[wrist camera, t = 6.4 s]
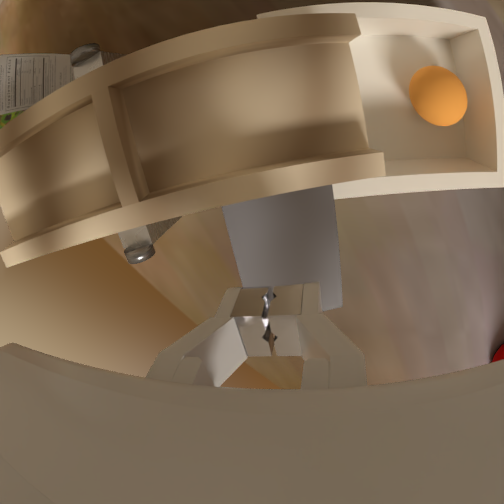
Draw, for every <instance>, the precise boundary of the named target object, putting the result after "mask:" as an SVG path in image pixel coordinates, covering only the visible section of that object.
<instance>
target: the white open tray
mask: <svg viewBox="0 0 504 504" xmlns="http://www.w3.org/2000/svg"><path fill="white" fill-rule="evenodd" d="M315 13H355V15H356V18H357V21H358V24H359V28H360V31H361V35H360V36H358V37H356V38H355V39H353V40H352V41H350V42H349V46H350V50H351V54H352V58H353V62H354V66H355V71H356V75H357V80H358V85H359V90H360V95H361V100H362V106H363V111H364V117H365V124H366V130H367V137H368V145H369V148H371V149H375V150H378V151H382V152H384V161H385V173H386V176H380V177H374V178H367V179H361V180H355V181H349V182H343V183H337V184H332V187H333V195H334V199H342V198H352V197H362V196H372V195H383V194H395V193H408V192H421V191H436V190H452V189H472V188H498V187H504V95H503V89H502V82H501V77H500V71H499V66H498V62H497V57H496V53H495V49H494V45H493V41H492V37H491V34H490V30H489V27H488V24H487V21H486V18H485V17H482V16H478V15H474V14H470V13H465V12H460V11H455V10H450V9H444V8H438V7H431V6H423V5H414V4H402V3H382V2H354V3H333V4H321V5H311V6H303V7H296V8H289V9H283V10H277V11H272V12H267V13H262V14H257V19H260V18H267V17H276V16H285V15H297V14H315ZM426 66H440V67H443V68H446V69H448V70H449V71H451V72H452V73H454V74H455V75H456V76H457V77H458V78H459V79H460V81H461V82H462V84H463V86H464V88H465V90H466V93H467V100H468V103H467V109H466V112H465V114H464V116H463V117H462V118H461V120H459V121H458V122H457V123H455V124H453V125H450V126H438V125H434V124H431V123H429V122H427V121H426V120H424V119H423V118H422V117H421V116H420V115H419V114H418V113H417V112H416V110H415V109H414V107H413V105H412V103H411V100H410V97H409V84H410V81H411V78H412V77H413V75H414V74H415V73H416V72H417V71H418V70H419V69H421V68H423V67H426Z"/></svg>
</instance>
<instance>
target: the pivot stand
mask: <svg viewBox="0 0 504 504" xmlns="http://www.w3.org/2000/svg"><path fill="white" fill-rule="evenodd" d="M123 56H126V55H124V54H117V53H110V52H102V51H100V46H99V44H95V43H93V44H87V45H83V46H81V47H79V48H77V49H75V50H74V51H72V52H71V54H70V59H71V65H72V67H75V68H74V69H73V70H74V76H75V79H77V78H79V77H81V76H83V75H85V74H87V73H89V72H91V71H93V70H95V69H97V68H99V67H101V66H103V65H105V64H107V63H109V62H112V61H114V60H116V59H118V58H121V57H123ZM181 217H182V216H179V217H175V218H171V219H167V220H163V221H159V222H155V223H152V224H148V225H144V226H140V227H137V228H133V229H129V230H126V231H122V232H118V234H119V237H120V240H121V242H122V245H123V247H124V248H126V249H125V250H124V253H125V255H126V258H127V260H128V263H130V264H137V263H140V262H143V261H145V260H147V259H149V258H151V257H152V256H153V255H154V254H155V249H154V246H153V244H154V243H155V242H156V241H157V240H158V239H159V238H160V237H161V236H162V235H163V234H164V233H165V232H166V231H167V230H168V229H169V228H170V227H171V226H172V225H173V224H175V223H176V222H177V221H178V220H179V219H180V218H181Z"/></svg>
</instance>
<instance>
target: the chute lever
mask: <svg viewBox="0 0 504 504" xmlns="http://www.w3.org/2000/svg"><path fill="white" fill-rule="evenodd" d="M360 35H361V31H360V28H359V24H358V21H357V18H356V15H355V13H315V14H297V15H285V16H276V17H267V18H260V19H253V20H247V21H241V22H236V23H231V24H226V25H221V26H217V27H212V28H208V29H204V30H200V31H196V32H193V33H189V34H185V35H182V36H179V37H175V38H172V39H169V40H166V41H163V42H160V43H157V44H154V45H151V46H149V47H146V48H143V49H141V50H138V51H135V52H133V53H130V54H128V55H126V56H123V57H121V58H118V59H116V60H114V61H112V62H109V63H107V64H105V65H103V66H101V67H99V68H97V69H95V70H93V71H91V72H89V73H87V74H85V75H83V76H81V77H79V78H77V79H75V80H74V81H72V82H70V83H68V84H66V85H65V86H63V87H61V88H60V89H58V90H56V91H54V92H53V93H51V94H50V95H48V96H46V97H45V98H43V99H42V100H40V101H39V102H37V103H36V104H34V105H33V106H31V107H30V108H28V109H27V110H25V111H24V112H23V113H21V114H20V115H18V116H17V117H16V118H14V119H13V120H12V121H10V122H9V123H8V124H6V125H5V126H4V127H3V128H1V129H0V205H1V208H2V211H3V214H4V217H5V220H6V222H7V225H8V228H9V230H10V233H11V236H12V238H13V241H14V242H13V243H11V244H10V245H9V246H8V247H6V248H5V249H4V250H2V251H1V252H0V254H1V256H2V259H3V261H4V263H5V265H6V267H10V266H13V265H16V264H19V263H22V262H25V261H27V260H30V259H33V258H36V257H39V256H42V255H46V254H48V253H52V252H55V251H58V250H61V249H64V248H67V247H71V246H74V245H77V244H81V243H84V242H87V241H91V240H94V239H97V238H101V237H104V236H108V235H111V234H115V233H118V232H122V231H126V230H129V229H133V228H137V227H140V226H144V225H148V224H152V223H155V222H159V221H163V220H167V219H171V218H175V217H179V216H183V215H187V214H191V213H196V212H200V211H204V210H208V209H213V208H217V207H221V206H222V210H223V214H224V218H225V222H226V225H227V229H228V233H229V237H230V241H231V244H232V248H233V252H234V256H235V259H236V263H237V267H238V270H239V274H240V278H241V281H242V285H243V287H262V286H270V287H271V288H272V292H273V289H274V287H275V286H284V285H295V284H304V283H312V282H319V283H320V291H321V302H322V311H326V310H331V309H335V308H339V307H343V305H342V284H341V268H340V254H339V242H338V231H337V221H336V212H335V203H334V195H333V187H332V184H337V183H343V182H349V181H355V180H361V179H367V178H374V177H380V176H386V173H385V161H384V152H382V151H378V150H375V149H371V148H369V145H368V137H367V130H366V124H365V117H364V111H363V106H362V100H361V95H360V90H359V85H358V80H357V75H356V71H355V66H354V62H353V58H352V54H351V50H350V46H349V42H350V41H352V40H353V39H355V38H356V37H358V36H360ZM273 299H274V297H273Z"/></svg>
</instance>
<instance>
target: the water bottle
mask: <svg viewBox="0 0 504 504" xmlns="http://www.w3.org/2000/svg"><path fill="white" fill-rule="evenodd" d="M503 359H504V344H502V345H501V347H500V348H499V349H498V351H497V352H496V354H495V355H494V358H493V360H492V363H493V362H496V361H499V360H503Z"/></svg>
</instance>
